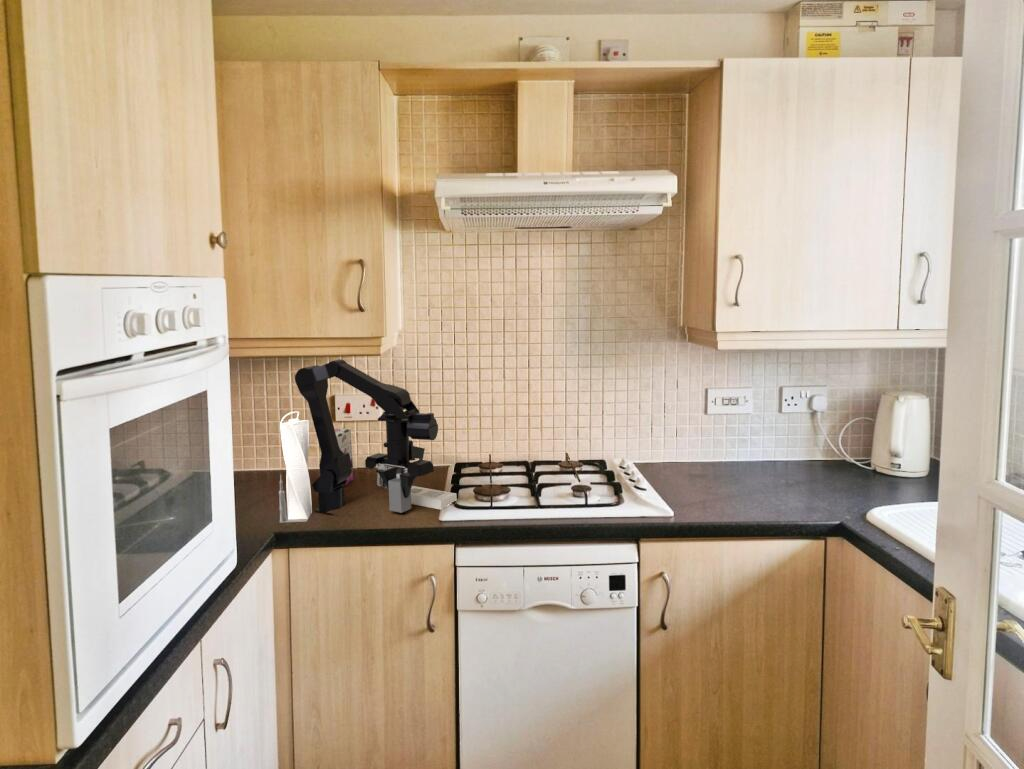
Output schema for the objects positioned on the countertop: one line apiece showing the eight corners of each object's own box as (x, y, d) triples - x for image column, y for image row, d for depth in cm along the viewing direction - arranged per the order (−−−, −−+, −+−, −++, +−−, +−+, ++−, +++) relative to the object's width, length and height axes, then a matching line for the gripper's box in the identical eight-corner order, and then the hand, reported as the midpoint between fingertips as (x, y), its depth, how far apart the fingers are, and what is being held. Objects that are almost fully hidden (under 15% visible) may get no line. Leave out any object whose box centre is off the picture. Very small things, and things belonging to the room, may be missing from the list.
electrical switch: (407, 482, 228) (406, 453, 226) (411, 488, 224) (411, 458, 222) (376, 486, 225) (376, 456, 222) (380, 492, 220) (380, 462, 218)
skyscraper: (286, 513, 202) (280, 411, 197) (317, 512, 202) (311, 410, 198) (279, 523, 193) (272, 417, 189) (311, 522, 194) (304, 416, 190)
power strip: (441, 513, 198) (440, 498, 198) (392, 503, 207) (391, 489, 207) (456, 505, 204) (456, 491, 204) (408, 496, 213) (407, 482, 213)
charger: (401, 512, 193) (400, 476, 192) (389, 510, 195) (388, 474, 194) (411, 508, 196) (410, 472, 195) (399, 506, 199) (398, 471, 197)
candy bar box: (338, 479, 233) (336, 427, 230) (354, 479, 232) (351, 428, 229) (323, 489, 222) (320, 435, 219) (339, 490, 221) (336, 436, 218)
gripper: (445, 435, 195) (447, 493, 197) (390, 428, 205) (393, 483, 207) (418, 444, 185) (420, 505, 188) (362, 436, 195) (365, 494, 198)
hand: (400, 496), depth 195 cm, fingers closed on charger, 4 cm apart
